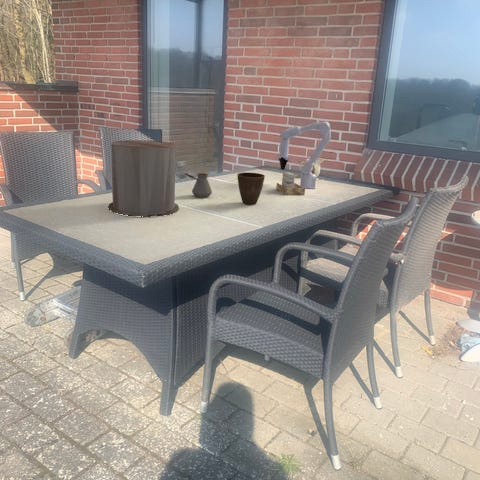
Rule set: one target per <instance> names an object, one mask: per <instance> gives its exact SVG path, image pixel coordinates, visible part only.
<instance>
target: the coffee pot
mask: <svg viewBox="0 0 480 480" xmlns="http://www.w3.org/2000/svg"><path fill="white" fill-rule="evenodd" d="M184 175H185V176H184ZM182 176H183V177H184V178H186V177H188V178H190V179H194V180H195V184H194V185H193V188H192V189H191V192H192V195H194V196H195V198H200V199H207V198H209V196H211V195H212V194H213V190H212V188H211V185H210V182H209V180H208V176H209V174H208V173H203V172H200V173H199V172H198V173H197V174H196V176H197V178H196V177H195V176H193V175H191V174H189V173H183V174H182Z"/></svg>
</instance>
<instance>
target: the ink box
mask: <svg viewBox="0 0 480 480" xmlns="http://www.w3.org/2000/svg"><path fill="white" fill-rule="evenodd" d="M295 178H296V175H295V174H293V173H292V172H289V171H287V172H286V171H283V172H282V179H281V185H282V186H284V187H285V188H294V183H295Z"/></svg>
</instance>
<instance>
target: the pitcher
mask: <svg viewBox="0 0 480 480" xmlns="http://www.w3.org/2000/svg"><path fill="white" fill-rule="evenodd" d="M309 159H310V158H307V159H306V160H305V161H301V162H300V163H299V170H300V172H301V173H302V167H303V164H304V165H305V164H306V163H307V162H308V160H309ZM324 161H325V160H324V159H319V158H318V159H317V161H316V162H315V164H314V165H313V170H312V171H311V172H312V174H315V176H316V179H317V178H318V177H319V175H320V173H321V164H322V163H323V162H324Z"/></svg>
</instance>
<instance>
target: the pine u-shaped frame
mask: <svg viewBox="0 0 480 480" xmlns="http://www.w3.org/2000/svg"><path fill="white" fill-rule="evenodd" d="M275 188H276V191H278V192H280V193H281V194H282V195H285V196H305V192H306V188H303V187H301V186H300V184H298V183H296V182H294V188H285V187H284V186H282V184H280V183H279V182H277V183H276V187H275Z"/></svg>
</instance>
